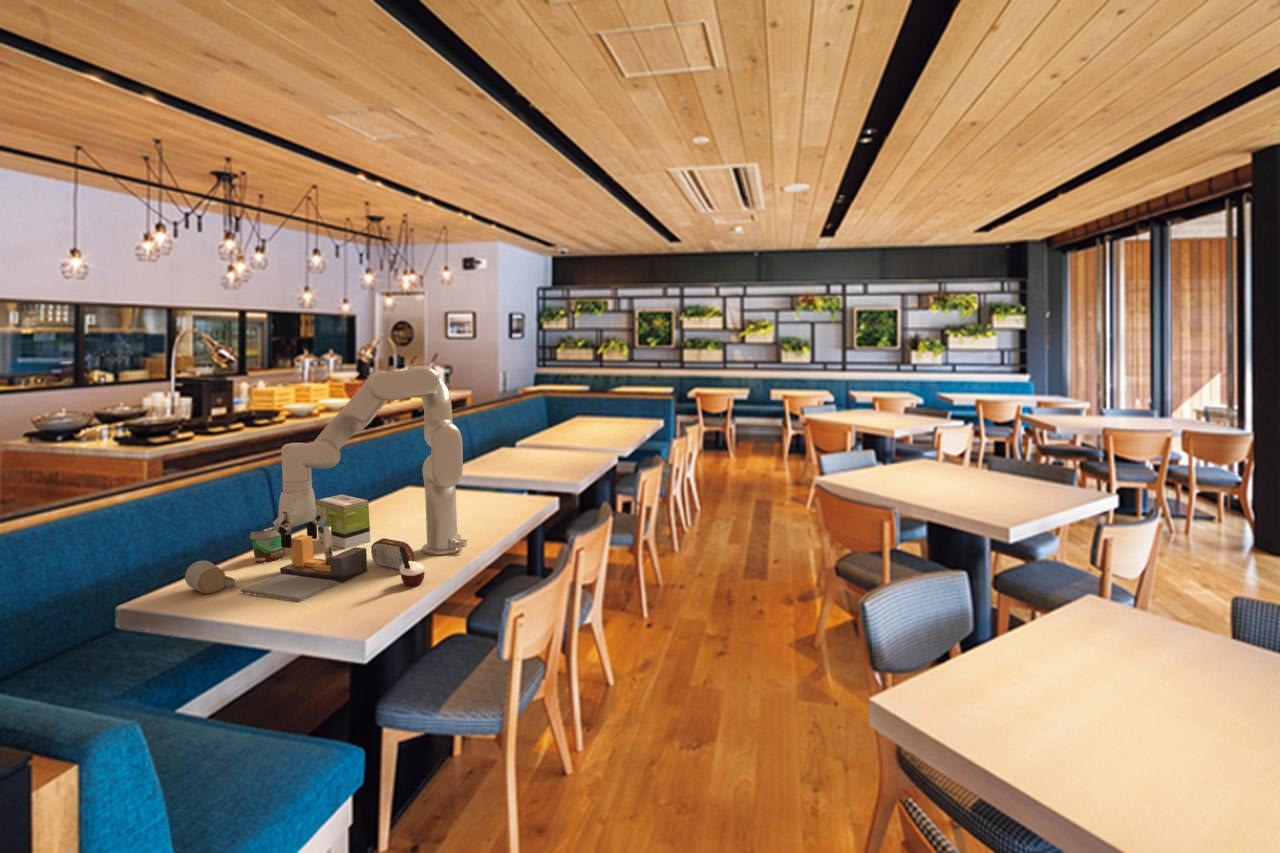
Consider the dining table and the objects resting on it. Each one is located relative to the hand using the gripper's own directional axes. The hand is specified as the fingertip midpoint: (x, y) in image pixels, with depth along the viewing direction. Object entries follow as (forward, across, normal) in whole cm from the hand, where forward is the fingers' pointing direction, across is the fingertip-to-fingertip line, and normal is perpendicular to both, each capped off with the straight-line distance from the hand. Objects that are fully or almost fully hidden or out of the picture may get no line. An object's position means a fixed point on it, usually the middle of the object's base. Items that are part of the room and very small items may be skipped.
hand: (299, 542), depth 199 cm
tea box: (+8, -28, -8) cm, 30 cm away
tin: (+8, -10, +24) cm, 27 cm away
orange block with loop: (+6, 0, +6) cm, 9 cm away
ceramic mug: (+9, +19, -12) cm, 24 cm away
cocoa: (+8, 0, +38) cm, 39 cm away
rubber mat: (+8, +12, +8) cm, 17 cm away
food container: (+9, -6, -16) cm, 19 cm away
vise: (+8, 0, +8) cm, 12 cm away
